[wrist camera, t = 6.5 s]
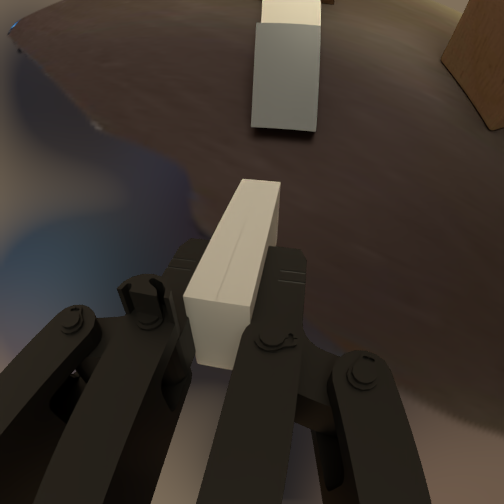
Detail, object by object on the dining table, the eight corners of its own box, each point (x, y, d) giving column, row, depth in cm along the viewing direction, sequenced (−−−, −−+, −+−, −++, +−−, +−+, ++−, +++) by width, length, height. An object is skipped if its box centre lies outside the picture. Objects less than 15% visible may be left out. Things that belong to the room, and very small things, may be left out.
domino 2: (318, 92, 22) (320, 0, 18) (258, 88, 23) (262, -3, 19) (317, 94, 24) (319, 8, 20) (261, 90, 25) (265, 5, 21)
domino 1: (315, 131, 22) (320, 25, 18) (250, 126, 22) (256, 22, 19) (315, 131, 23) (319, 33, 20) (254, 127, 24) (260, 30, 21)
